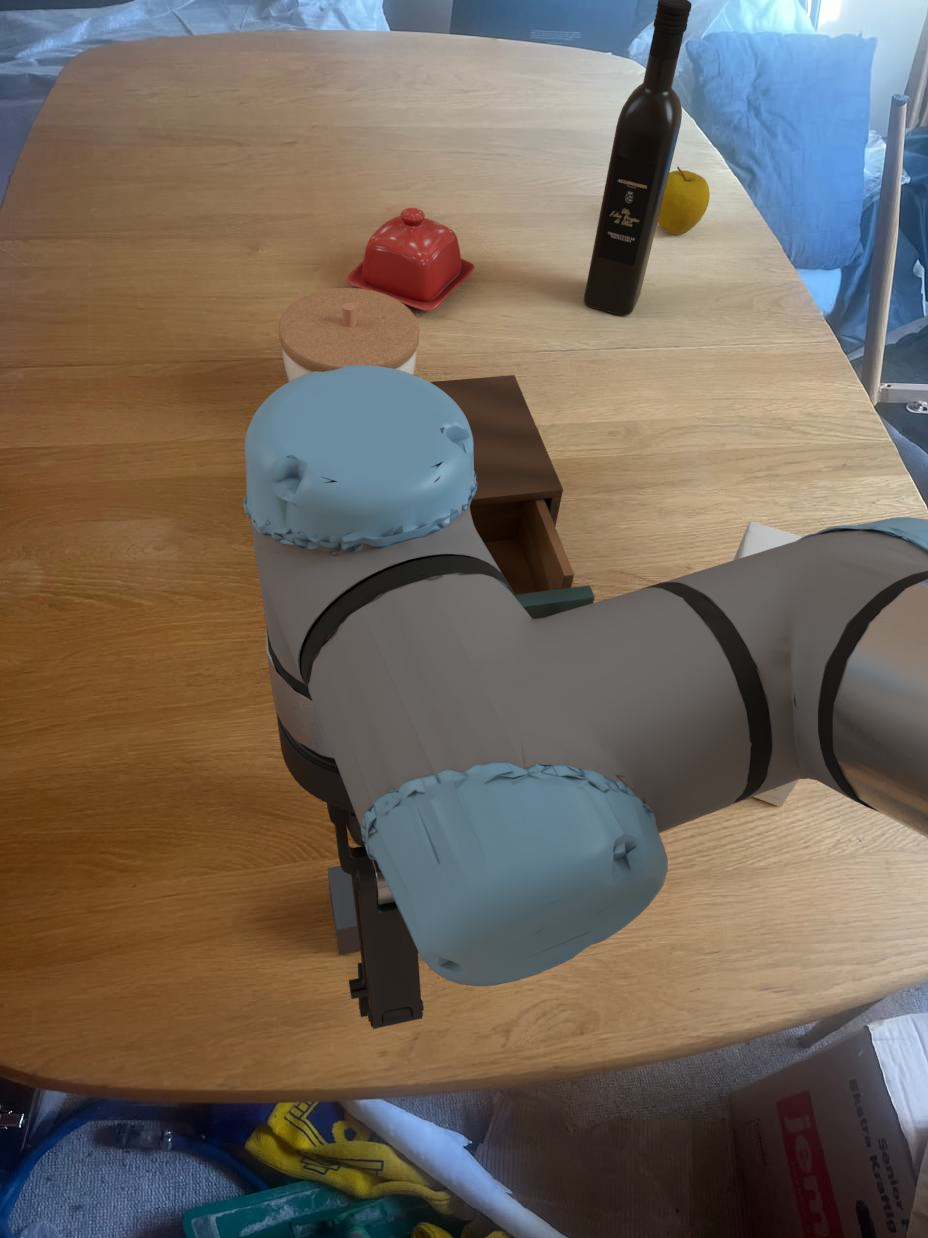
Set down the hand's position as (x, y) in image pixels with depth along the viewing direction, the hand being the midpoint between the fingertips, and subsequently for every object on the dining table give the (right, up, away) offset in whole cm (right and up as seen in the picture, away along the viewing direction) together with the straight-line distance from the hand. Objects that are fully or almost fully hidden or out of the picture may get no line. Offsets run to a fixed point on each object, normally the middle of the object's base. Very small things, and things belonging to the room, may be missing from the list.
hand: (363, 893), depth 58 cm
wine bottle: (+23, +53, +51) cm, 77 cm away
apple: (+32, +65, +62) cm, 95 cm away
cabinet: (+6, +25, +26) cm, 37 cm away
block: (0, -2, +2) cm, 3 cm away
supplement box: (+26, +8, +13) cm, 30 cm away
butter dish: (0, +54, +50) cm, 74 cm away
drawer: (+9, +16, +17) cm, 25 cm away
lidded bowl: (-5, +37, +35) cm, 51 cm away
